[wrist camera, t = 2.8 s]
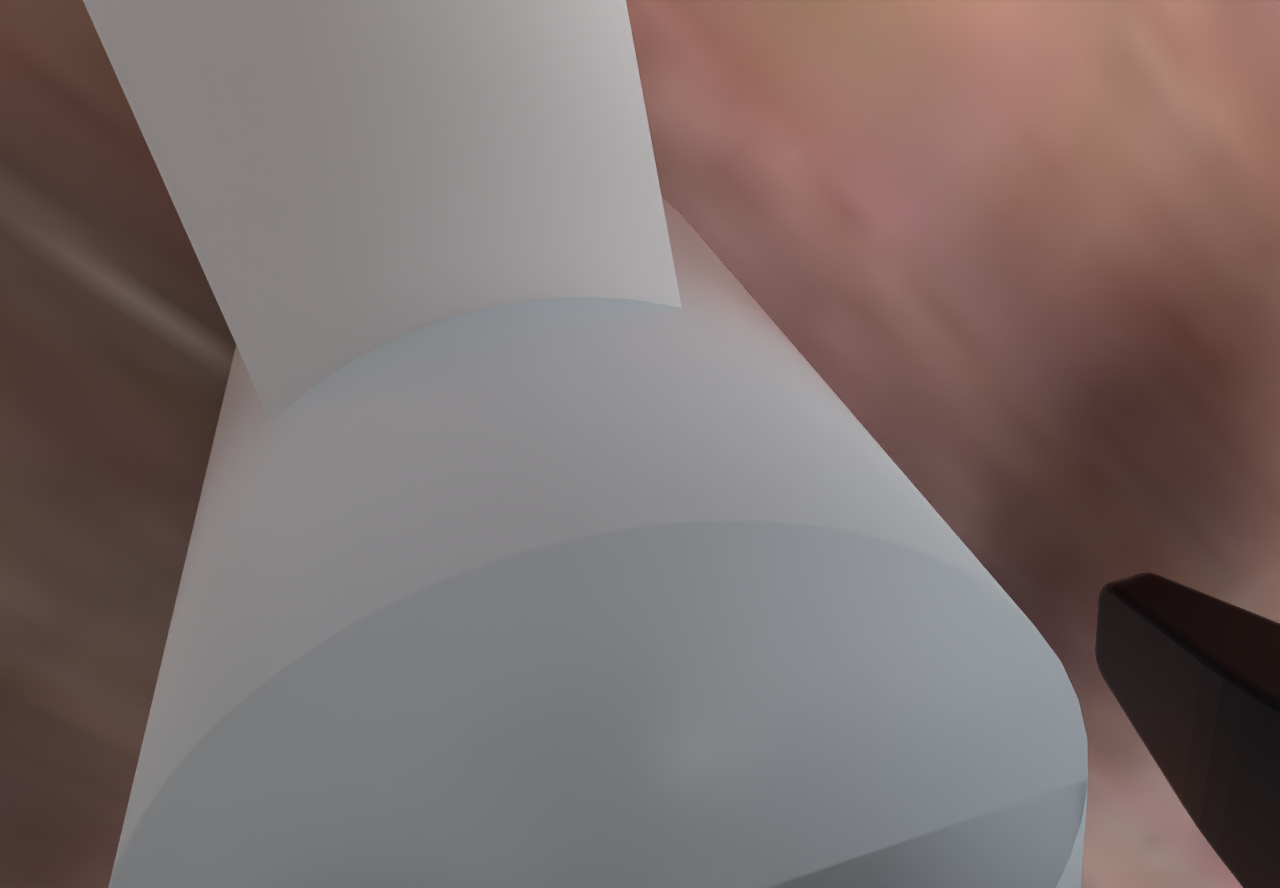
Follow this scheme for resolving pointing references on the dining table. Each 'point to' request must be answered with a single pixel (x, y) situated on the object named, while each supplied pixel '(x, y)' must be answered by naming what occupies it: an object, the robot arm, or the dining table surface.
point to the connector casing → (539, 506)
